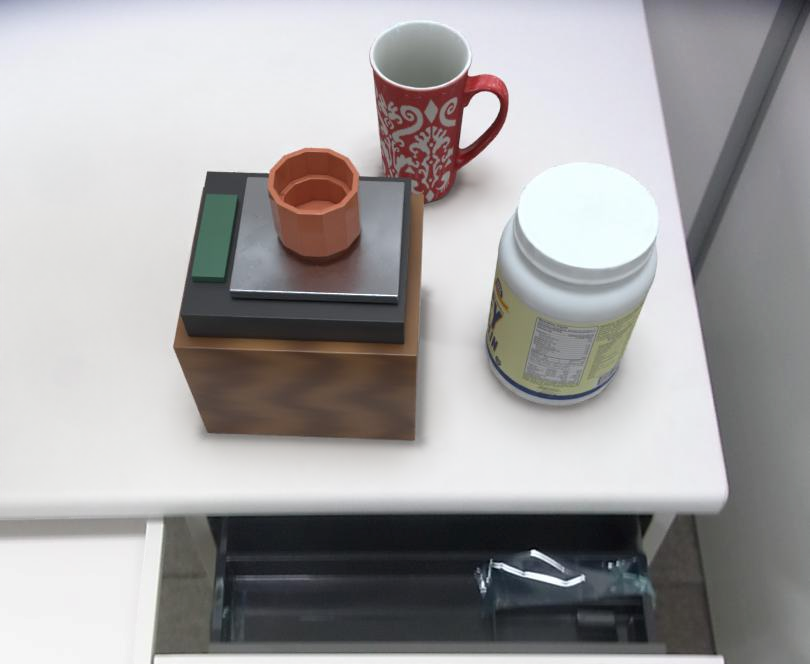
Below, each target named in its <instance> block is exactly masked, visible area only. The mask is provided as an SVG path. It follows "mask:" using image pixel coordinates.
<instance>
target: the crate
mask: <svg viewBox="0 0 810 664" xmlns="http://www.w3.org/2000/svg"><path fill="white" fill-rule="evenodd" d="M203 190H204V186H203V187H202V191H201V196H200V202H199V208H198V212H197V218H196V223H195V228H194V234H193V239H192V243H191V250H190V254H189V260H188V264H187V265H188V266H187V271H186V276H185V282H184V286H183V292H182V298H181V302H180V307H179V312H178V319H177V323H176V324H177V325H176V329H175V335H174V340H173V345H172V348H173V351H174V353H175V356H176V359H177V361H178V364H179V366H180V368H181V371H182V374H183V376H184V378H185V380H186V383H187V385H188V388H189V391H190V393H191V397H192V398H193V401H194V403H195V405H196V408H197V411H198V413H199V416H200V418H201V420H202V423H203V425H204V428H205V430H206V433H207V434H229V435H230V434H231V435H257V436H259V435H260V436H281V437H282V436H286V437H312V438H313V437H314V438H338V439H341V438H342V439H364V440H365V439H366V440H392V441H396V440H397V441H415V440H416V426H417V425H416V424H417V401H418V400H417V399H418V379H419V378H418V377H419V375H418V374H419V354H420V353H419V352H420V351H419V350H420V328H421V305H422V302H421V301H422V277H423V276H422V275H423V272H422V271H423V270H422V269H423V245H424V243H423V242H424V240H423V239H424V210H425V209H424V208H425V202H424V194H411V218H410V238H409V258H408V278H407V298H406V318H405V338H404V344H389V343H361V342H333V341H304V340H276V339H248V338H219V337H191V336H188V334H187V332H186V329H185V326H184V324H183V321H182V318H181V315H180V313H181V307H182V302H183V297H184V291H185V286H186V281H187V275H188V270H189V265H190V259H191V254H192V249H193V243H194V238H195V233H196V227H197V222H198V217H199V211H200V206H201V201H202V195H203Z"/></svg>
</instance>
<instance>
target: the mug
mask: <svg viewBox="0 0 810 664" xmlns="http://www.w3.org/2000/svg"><path fill="white" fill-rule="evenodd" d="M368 58H369V64H370V66H371V69H372V75H373V86H374V95H375V97H374V98H375V106H376V114H377V115H376V116H377V124H378V136H379V146H380V154H381V167H382V175H383V176H382V177H399V178H411V179H412V187H411V194H424V203H428V202H429V203H430V202H433V201H437V200H439V199H441V198H443V197H444V196H446V195H447V194H448V193H449V192H450V191H451V190H452V188H453V186H454V184H455V182H456V176H457V172H458V171H459V170H460V169H462V168H463V167H464V166H466V165H468V164H469V163H470V162H471V161H472V160H474V159H475V158H476V157H477V156H479V155H480V154H481V153H482V152H484V151H485V149H486V148H487V147H489V145H490V144H491V143H492V142H493V141H494V140H495V139H496V138H497V136H498V135H499V133H500V132H501V130H502V129H503V127H504V125H505V122H506V120H507V117H508V112H509V106H510V105H509V103H510V102H509V101H510V100H509V99H510V95H509V90H508V88H507V85H506V83H505V82H504V81H503V80H502V79H501V78H500V77H498V76H497V75H493V74H489V73H482V74H477V75H472V76H471V75H469V70H470V68H471V66H472V62H473V50H472V46H471V44H470V42H469V41H468V39H467V37H466V36H464V35H463V33H462V32H460V31H459V30H458V29H456V28H455V27H453V26H451V25H449V24H446V23H443V22H439V21H435V20H428V19H414V20H407V21H402V22H399V23H395V24H393V25H391V26H389V27H387V28H386V29H384V30H383V31H382V32H380V33H379V34H378V35H377V36H376V37H375V38H374V40H373V42H372V43H371V45H370V48H369V55H368ZM483 92H484V93H485V92H487V93H491V94H493V95H495V96H496V98H497V99H498V101H499V110H498V113H497V116H496V117H495V119H494V120H493V122H492V123H491V125H490V126H489V127H488V128H487V129H486V130H485V131H484V132H483V133H482V134H481V135H480V136H479V137H478V138H477V139H476V140H474V141H473V142H472V143H470V144H469V145H468V146H466V147H464V148H461V147H460V141H461V133H462V125H463V117H464V109H465V108H467V107H468V106H469V105H470V102H471V101H472V99H473V97H475V96H476V95H478V94H479V93H483Z"/></svg>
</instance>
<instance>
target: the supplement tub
mask: <svg viewBox="0 0 810 664" xmlns="http://www.w3.org/2000/svg"><path fill="white" fill-rule="evenodd" d="M659 228H660V213H659V208H658V206H657V203H656V201H655V199H654V197H653V195H652V194H651V193H650V192H649V190H648V189H647V188H646V186H644V185H643V184H642V183H641V182H640V181H639V180H637V179H636V178H635V177H633V176H632V175H630V174H628V173H626V172H624V171H622V170H620V169H618V168H616V167H612V166H609V165H607V164H602V163H597V162H586V161H576V162H567V163H563V164H560V165H556V166H552V167H550V168H548V169H546V170H544V171H542V172H540V173H538V174H536V175H535V176H534V177H533V178H532V179H530V181H529V182H528V183H527V185H526V186H525V187H524V189H523V190H522V192H521V194H520V197H519V199H518V204H517V206H516V208H515V211H514V212H513V214H512V215H511V216H510V217H509V219H508V221H507V222H506V224H505V226H504V228H503V230H502V233H501V236H500V238H499V243H498V247H497V258H496V264H495V271H494V277H493V283H492V292H491V299H490V304H489V305H490V306H489V312H488V318H487V319H488V320H487V327H486V332H485V340H484V341H485V342H484V343H485V352H486V356H487V361H488V363H489V366H490V368H491V370H492V371H493V373H494V375H495V377H496V378H497V379H498V381H499V382H500V383H501V384H502V385H503V386H504V387H505V388H506V389H507V390H509V391H511V392H512V393H514V394H515V395H516V396H519V397H520V398H523V399H525V400H527V401H530V402H532V403H537V404H541V405H547V406H568V405H575V404H578V403H582V402H585V401H587V400H590V399H591V398H594V397H595V396H597V395H598V394H600V393H601V392H602V391H603V390H604V389H605V388H606V387H607V386H608V385H609V384H610V382H611V381H612V380H613V379H614V377H615V376H616V374H617V372H618V371H619V368H620V366H621V363H622V359H623V357H624V354H625V353H626V350H627V347H628V345H629V341H630V339H631V337H632V334H633V332H634V329H635V327H636V324H637V322H638V319H639V317H640V314H641V312H642V309H643V307H644V304H645V302H646V299H647V297H648V294H649V293H650V290H651V288H652V286H653V284H654V282H655V278H656V274H657V273H656V272H657V268H658V249H657V239H658V233H659Z"/></svg>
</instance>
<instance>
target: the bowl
mask: <svg viewBox="0 0 810 664" xmlns="http://www.w3.org/2000/svg"><path fill="white" fill-rule="evenodd" d="M268 173H269V179H268V186H267V189H268V194H269V200H270V205H271V210H272V216H273V221H274V227H275V231H276V233H277V234H278V236H279V238H280V239H281V241H282V243H283V244H284V246H286V247H287V248H289V249H291V250H293V251H295V252H297V253H299V254H301V255H304V256H311V257H326V256H330V255H333V254H336V253H338V252H340V251H342V250H345V249H347V248H348V247H349V246H350V245H351V244H352V242H353V241H354V240H355V239H356V238H357V237H358V235H359V234H360V230H361V218H362V216H361V198H360V181H359V176H360V173H359V171H358V169H357V168H356V166H355V165H354V164H353V162H352V161H351V159H350V158H349V156H346V155H344V154H342V153H340V152H337V151H335V150H334V149H331V148H328V147H304V148H301V149H298V150H294V151H292V152H289V153H287V154H284V155H283V156H282V157H281V158H280V159H279V160H278V161H277V162H276V163H275V164H274V165H273V166H272V167H271V169H270V170H269V172H268Z"/></svg>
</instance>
